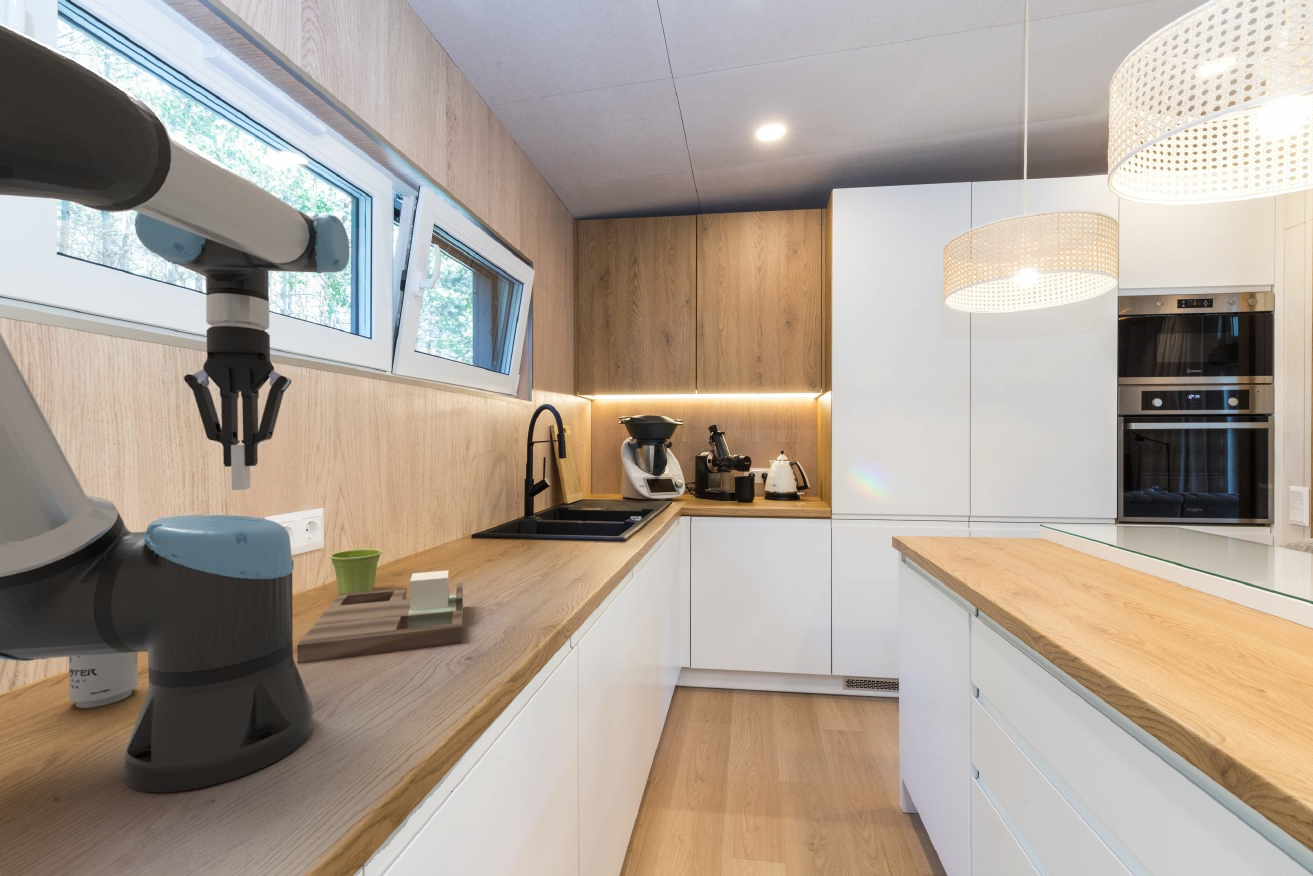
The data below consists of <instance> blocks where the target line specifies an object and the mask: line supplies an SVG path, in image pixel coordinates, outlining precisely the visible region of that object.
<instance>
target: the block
mask: <svg viewBox="0 0 1313 876" xmlns="http://www.w3.org/2000/svg"><path fill="white" fill-rule="evenodd" d="M449 574H450V572H449V570H448V569H447V570H439V571H438V570H437V571H426V572H415V573H413V572H412V574H411V577H410V580H409V599H410V611H414V610H423V609H433V608H443V607H448V603H449V595H450V587H449V586H450V584H449V583H450V577H449V576H450V575H449Z"/></svg>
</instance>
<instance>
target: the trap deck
mask: <svg viewBox="0 0 1313 876" xmlns="http://www.w3.org/2000/svg"><path fill="white" fill-rule="evenodd" d="M463 583H464V582H460V583H456V594H455V593H454V594H449V603H448V607H443V608H433V609H423V610H414V611H410V598H408V596H407V595H408V593H407V592H408V591H407V590H408V589H407V587H399V588H387V589H385V588H384V589H374V591H363V592H352V593H341V594H340V595H339V594H338V596H337V597H336V598H335V599H334V600H333V602H332V603H331V604H330V606H329V607H328V608H326V610H325V611H324V612H323V614H322V615H321V616H320V617H319V618H318V619H317V621H316V622H315V623H314V624H313V625H312V626H311V627H310V629H309V630H308V631H307V633H306V634H305V635H304V636H303V637H302V638H301V640H300V641H299V642H298V644H297V645H296V648H297V649H296V652H297V656H296V657H297V660H296V661H297V664H299V663H306V662H315V661H316V662H317V661H321V660H322V661H323V660H331V659H337V658H338V659H339V658H349V657H355V656H356V657H357V656H364V655H373V654H380V653H390V652H397V651H404V650H413V649H414V650H415V649H421V648H422V649H423V648H430V647H431V648H432V647H438V646H446V645H454V644H455V645H456V644H463V623H464V620H463V619H464V589H463V588H464V587H463V586H464V584H463Z"/></svg>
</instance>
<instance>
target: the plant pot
mask: <svg viewBox="0 0 1313 876" xmlns="http://www.w3.org/2000/svg"><path fill="white" fill-rule="evenodd" d="M382 554H383V552H382V550H380V549H372V548H365V549H363V548H361V549H349V550H342V551H338V552H333V553H331V554H330V555H329V559H331V562H332V565H333V567H334V572H335V578H336V584H337V590H338V591H337V592H338V596H339V595H340V594H341V593H352V592H363V591H374V590H375V582H376V576H377V575H376V574H377V570H378V569H377V568H378V562H379V561H380V556H381V555H382Z"/></svg>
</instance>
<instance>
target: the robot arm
mask: <svg viewBox="0 0 1313 876" xmlns="http://www.w3.org/2000/svg"><path fill="white" fill-rule="evenodd" d="M164 123H165V122H163V121H162V119H161V118H160V116H159V115H158V114H157V113H156V112H155V110H154V109H152V107H150V106H149V105H148V104H147V103H146V102H144V101H143V100H141V99H140V97H137V96H136V95H134V94H133V93H131V92H130V91H128V90H127V89H125V88H123V87H122V86H121V85H119V84H117V83H116V82H114V81H112V80H110V79H109V78H107V77H106V76H104V75H102V74H101V73H100V72H98V71H95V70H94V69H92V68H91V67H89V66H87V65H85V64H83V63H81V62H80V61H78V60H76V59H74V58H72V57H70V56H69V55H67V54H64V53H62V52H60V51H59V50H57V49H55V48H52V47H51V46H49V45H48V44H45V43H43V42H40V41H39V40H37V39H34V38H33V37H31V36H28V35H26V34H24V33H22V32H20V31H17V30H16V29H13V28H11V27H9V26H7V25H4V24H2V23H0V196H14V197H25V198H27V197H28V198H38V199H39V198H42V199H53V200H54V199H55V200H60V201H67V202H72V203H75V204H78V205H81V206H82V207H83V206H84V207H86V208H91V209H94V210H97V211H101V212H108V213H110V212H111V213H120V212H129V211H133V212H137V213H136V214H135V217H134V218H135V219H134V220H135V221H134V228H135V233H136V236H137V238H138V240H139V241H140V243H141V244H142V245H143V246H144V247H145V248H146V249H147V250H149V251H150V252H152V253H153V254H155V255H157V256H158V257H161V258H162V259H163V260H165V261H167V262H168V263H171V264H173V265H178V266H180V267H182V268H184V269H187V270H190V271H192V272H194V273H196V274H199V275H200V276H203V277H205V290H206V291H205V292H206V293H205V295H206V296H205V299H206V300H205V302H206V305H205V312H206V313H205V318H206V319H205V320H206V321H205V322H206V324H207V325H209V326H210V327H208V329H206V356H207V357H206V360H205V361H204V363H203V366H202V367H203V368H202V369H201V370H198V371H197V372H195V373H193V374H189V373H188V374H185V375H184V377H183V379H184V382H185V383H186V384H187V385H188V387H190V389H191V390H192V392H193V395H194V399H195V403H196V404H197V405H196V406H197V409H198V412H199V415H200V418H201V422H202V425H203V428H204V431H205V435H206V438H207V439H208V440H209V441H213V442H217V443H220V444H221V445H222V448H223V453H222V454H223V455H222V456H223V465H224V467H225V468H226V467H227V468H228V467H231V471H230V472H231V477H230V478H231V491H239V490H240V491H241V490H242V491H243V490H244V491H245V490H247V489H251V467H255V466H257V465H258V462H259V459H258V458H259V457H258V445H259V443H261V442H264V441H267V440H268V441H269V440H271V439H272V437H273V434H274V431H275V428H276V427H275V426H276V423H277V419H278V415H279V412H280V409H281V408H280V407H281V406H282V405H281V404H282V401H283V397H284V393H285V392H286V390H287V389H288V388H289V386H290V385H291V383H292V380H291V378H289V377H287V376H284V375H282V374H281V373H278V372H277V371H275V367H274V365H273V364H272V362H271V343H270V342H271V339H270V338H271V337H270V334H269V332H267V331H266V330H268V329H270V296H269V289H270V287H269V281H270V280H269V277H270V276H269V272H289V273H290V272H292V273H293V272H295V273H296V272H297V273H317V274H321V275H322V273H339V272H342V271H344V270H345V269H346V268H347V266H348V264H349V261H350V240H349V236H348V233H347V230H346V228H345V225H344V223H343V222H342V221H341V220H340V218H339V217H338V216H336V215H333V214H330V213H329V214H328V213H319V212H317V211H313V212H304V211H303V212H302V211H300V210H298V209H297V208H295V207H293V206H291V205H290V204H288V203H287V202H286V201H285V202H284V201H283V200H281V199H280V198H278V197H276V196H275V195H273V193H271V192H269V191H267V190H265V189H264V188H262V187H261V186H258V185H257V184H256V183H254V182H252V181H251V180H249V179H247V178H245V177H244V176H242V175H241V174H239V173H237V172H235V170H233V169H231V168H229V167H228V166H226V165H224V164H223V163H221V162H220V161H218V160H217V159H214V158H213V157H212V156H209V155H208V154H206V153H204V152H203V151H202V150H200V149H198V148H197V147H195V146H194V145H192V144H190V143H189V142H187V141H185V140H183V139H182V138H181V137H178V136H177V135H175V134H174V133H172V132H171V131H169V130H168V129H167V127H166V126H165V124H164ZM209 378H210V379H211V381H212V382H213V383H214V384H215V385H216V386H217V387H218V389H219V396H220V399H221V400H220V403H221V405H220V406H221V423H220V419H219V415H218V412H217V410H216V405H215V402H214V399H213V396H212V393H211V390H210V388H209V387H208V386H209V385H210V380H209ZM269 379H270V380H269ZM268 380H269V386H270V388H269V391H268V394H267V398H266V402H265V405H264V409H263V413H262V417H261V420H260V423H259V404H258V403H259V397H260V392H259V391H260V389H262V387H264V385H265V383H266V382H268ZM239 392H240V393H239ZM239 397H241V400H242V402H241V403H242V439H241V440H239V418H238V417H239V416H238V415H239V414H238V413H239V412H238V411H239V410H238V408H239V407H238V406H239V404H238V403H239V401H238V400H239ZM240 442H241V444H240ZM294 564H295V563H294V560H293V555H292V546H291V537H290V534H289V532H288V530H287V529H286V528H285V527H284V526H283V525H281V524H279V523H277V521H274V520H270V519H265V518H260V517H253V516H244V515H243V516H242V515H233V514H232V515H228V514H212V515H203V514H197V515H196V514H195V515H194V514H189V515H178V516H177V515H175V516H169V517H163V518H159V519H155V520H153V521H151V522H150V523H149V524H148V526H147V529H146V530H145V531H133V532H132V531H130V530H129V529H128V528H127V526H126V525H125V522H124V520H123V518H122V517H121V514H120V512H119V511H118V508H117V507H116V506H115V504H114V503H113V502H112V501H110V500H108V499H107V498H104V497H100V496H99V497H98V496H95V495H94V496H93V495H89V494H86V493H85V490H84V489H83V486H82V485H81V484H80V481H79V479H78V477H77V476H76V474H75V472H74V469H73V468H72V465H71V464H70V462H69V460H68V458H67V457H66V455H65V453H64V451H63V449H62V446H61V445H60V443H59V442H58V440H57V438H56V435H55V434H54V431H53V430H52V428H51V426H50V425H49V422H48V420H47V418H46V417H45V415H44V412H43V411H42V409H41V407H40V405H39V403H38V401H37V399H36V397H35V396H34V394H33V392H32V390H31V388H30V386H29V385H28V382H27V380H26V378H25V377H24V375H23V373H22V370H21V369H20V367H19V365H18V364H17V362H16V359H15V357H14V355H13V354H12V351H11V350H10V348H9V346H8V344H7V341H5V339H4V337H3V335H2V333H1V332H0V660H9V661H10V660H11V661H19V662H20V661H21V662H28V661H35V660H46V659H52V658H53V659H54V658H65V657H66V658H67V657H68V658H69V657H70V656H84V655H99V654H113V653H131V652H137V653H139V652H142V653H143V652H146V653H147V658H148V659H147V660H148V690H147V693H146V696H145V698H144V701H143V703H142V706H141V709H140V711H139V714H138V717H137V720H136V721H135V722H136V723H135V725H134V727H133V730H132V733H131V736H130V738H129V741H128V744H127V746H126V749H125V753H124V761H123V762H124V781H125V783H126V785H128V786H129V787H130V788H132V789H134V790H137V791H141V792H147V793H148V792H149V793H173V792H176V793H177V792H183V791H189V790H196V789H200V788H205V787H209V786H213V785H217V784H222V783H224V782H228V781H231V780H234V779H238V778H240V777H243V776H246V775H248V774H252V773H254V772H256V771H258V770H261V769H263V768H265V767H267V766H269V765H271V764H273V763H276V762H278V761H280V760H281V759H282V758H284V757H286V756H288V755H289V754H291V753H293V752H294V751H295V750H296V749H298V748H300V747H301V746H302V744H303V743H305V742H306V741H307V740H308V739H309V737H310V735H311V734H312V732H313V729H314V708H313V704H312V700H311V698H310V696H309V693H308V691H307V689H306V687H305V684H304V682H303V679H302V676H301V674H300V672H299V669H298V667H297V665H296V662H295V660H294V651H293V650H294V646H293V631H294V630H293V626H294V625H293V623H294V622H293V617H294V616H293V570H294V567H295V566H294Z"/></svg>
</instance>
